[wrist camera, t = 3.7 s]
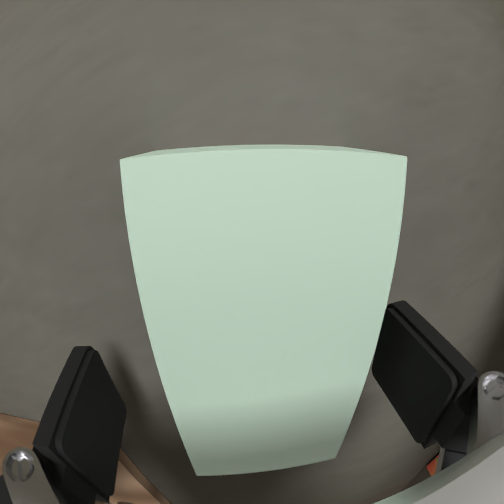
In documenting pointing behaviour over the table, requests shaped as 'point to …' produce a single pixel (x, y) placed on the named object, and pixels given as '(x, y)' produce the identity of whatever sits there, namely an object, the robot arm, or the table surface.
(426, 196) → the table surface
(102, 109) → the table surface
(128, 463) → the peg frame
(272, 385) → the mint green block
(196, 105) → the table surface
